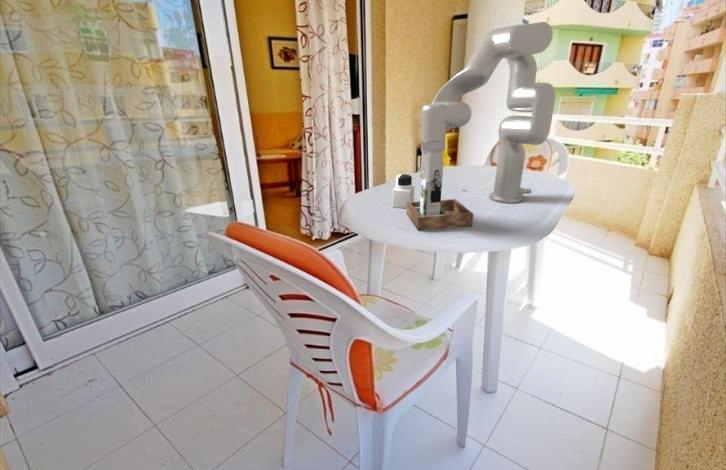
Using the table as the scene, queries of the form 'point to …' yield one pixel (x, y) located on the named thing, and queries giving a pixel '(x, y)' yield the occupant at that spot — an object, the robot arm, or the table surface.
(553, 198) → the table surface
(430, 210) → the syrup box
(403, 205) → the medicine bottle
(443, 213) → the walled box
